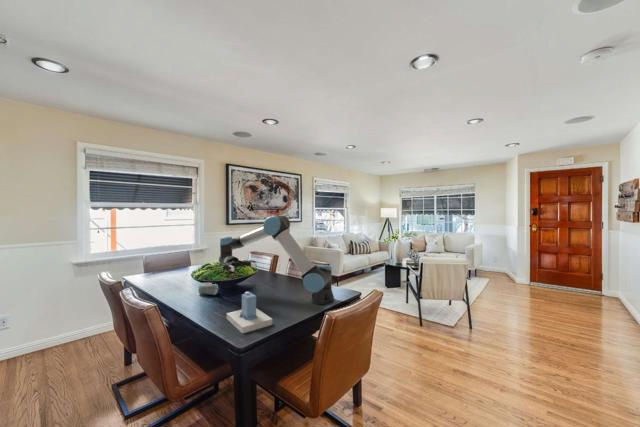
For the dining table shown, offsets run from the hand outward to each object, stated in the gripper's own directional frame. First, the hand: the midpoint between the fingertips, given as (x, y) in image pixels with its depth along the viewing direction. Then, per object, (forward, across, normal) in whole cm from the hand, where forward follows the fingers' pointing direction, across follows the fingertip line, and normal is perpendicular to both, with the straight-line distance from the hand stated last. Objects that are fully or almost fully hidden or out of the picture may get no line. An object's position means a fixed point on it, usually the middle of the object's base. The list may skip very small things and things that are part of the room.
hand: (245, 267), depth 156 cm
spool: (-45, +8, -25) cm, 52 cm away
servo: (+15, +5, -26) cm, 30 cm away
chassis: (+15, +5, -26) cm, 30 cm away
